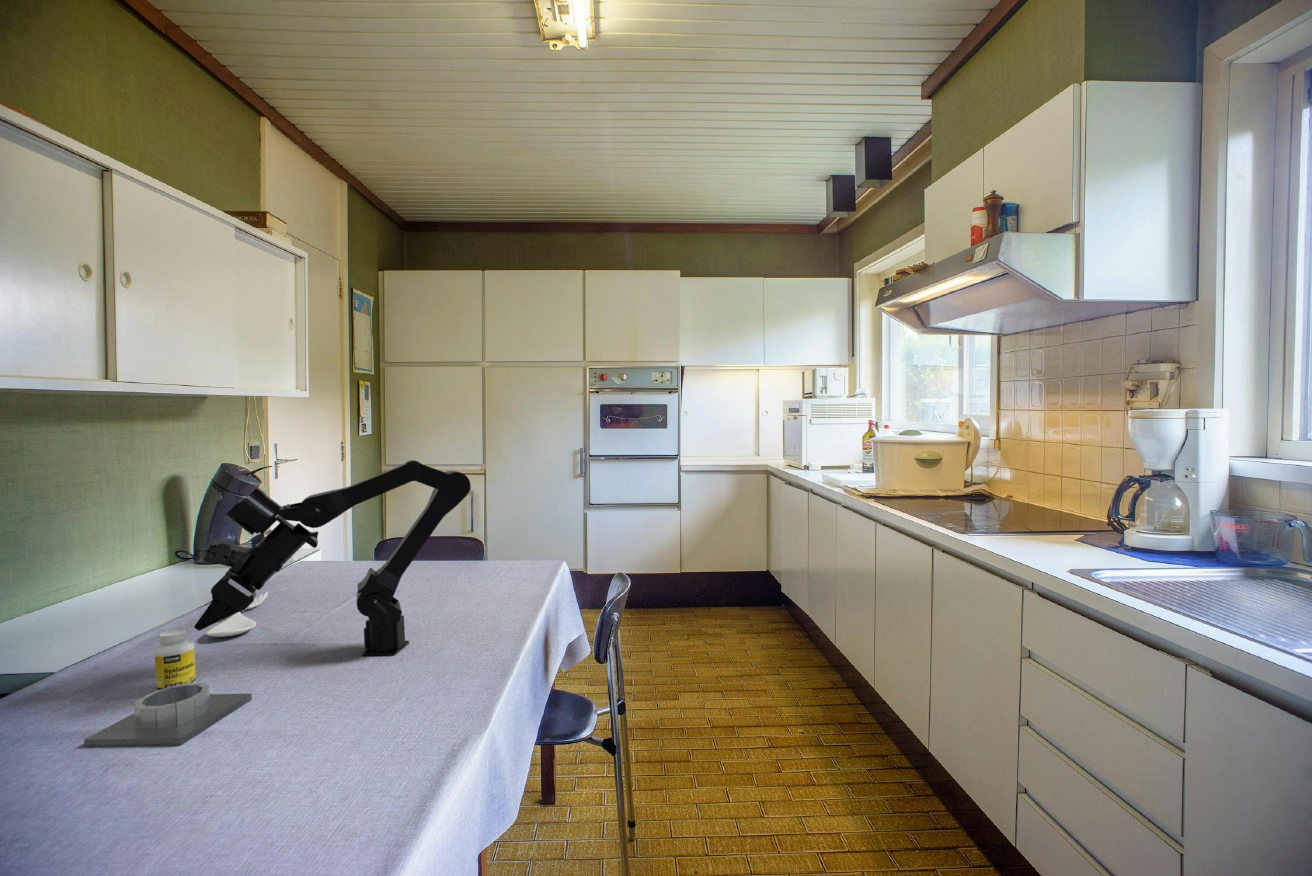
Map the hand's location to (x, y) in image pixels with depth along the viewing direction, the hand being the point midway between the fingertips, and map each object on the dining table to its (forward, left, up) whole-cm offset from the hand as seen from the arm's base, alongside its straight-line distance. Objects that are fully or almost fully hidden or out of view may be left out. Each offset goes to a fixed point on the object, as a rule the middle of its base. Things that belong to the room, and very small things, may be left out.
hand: (202, 621), depth 105 cm
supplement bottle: (+4, +2, -11) cm, 12 cm away
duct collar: (-6, +14, -11) cm, 19 cm away
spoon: (+20, -34, -11) cm, 41 cm away
